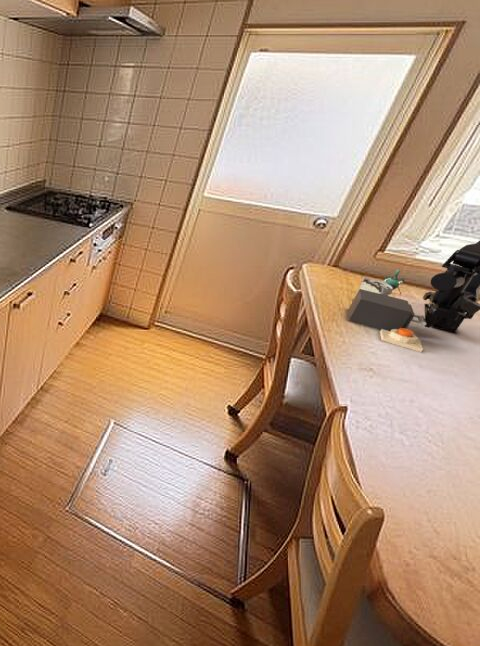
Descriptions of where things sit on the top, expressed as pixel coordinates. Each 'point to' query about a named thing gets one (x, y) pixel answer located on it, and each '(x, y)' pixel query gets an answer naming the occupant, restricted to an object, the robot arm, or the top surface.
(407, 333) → the button
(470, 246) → the robot arm
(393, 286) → the frog figurine
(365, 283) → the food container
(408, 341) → the block
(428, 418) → the top surface
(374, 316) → the charcoal rectangular box
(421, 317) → the fryer drawer
